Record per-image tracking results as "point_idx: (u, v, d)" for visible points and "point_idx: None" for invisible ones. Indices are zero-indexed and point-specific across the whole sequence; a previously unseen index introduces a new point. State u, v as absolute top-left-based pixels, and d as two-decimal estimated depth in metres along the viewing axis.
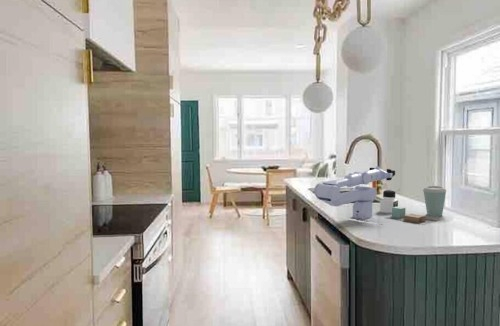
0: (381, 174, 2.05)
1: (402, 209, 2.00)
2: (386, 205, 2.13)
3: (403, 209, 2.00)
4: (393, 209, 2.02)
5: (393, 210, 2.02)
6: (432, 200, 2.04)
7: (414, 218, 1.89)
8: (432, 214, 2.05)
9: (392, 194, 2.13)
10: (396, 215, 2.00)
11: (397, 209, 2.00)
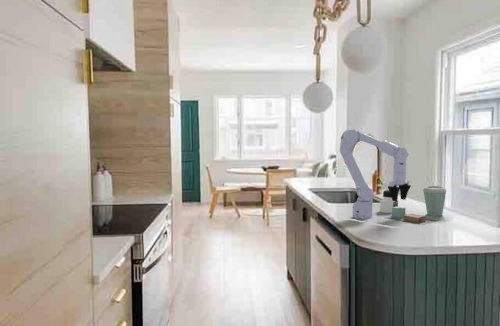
0: (396, 180, 1.99)
1: (402, 209, 2.00)
2: (386, 205, 2.13)
3: (403, 209, 2.00)
4: (393, 209, 2.02)
5: (393, 210, 2.02)
6: (432, 200, 2.04)
7: (414, 218, 1.89)
8: (432, 214, 2.05)
9: None
10: (396, 215, 2.00)
11: (397, 209, 2.00)
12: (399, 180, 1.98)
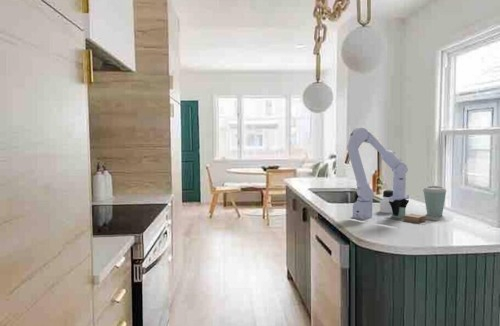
0: (396, 195, 1.99)
1: (402, 209, 2.00)
2: (386, 205, 2.13)
3: (403, 209, 2.00)
4: None
5: None
6: (432, 200, 2.04)
7: (414, 218, 1.89)
8: (432, 214, 2.05)
9: (392, 194, 2.13)
10: None
11: None
12: (399, 195, 1.99)
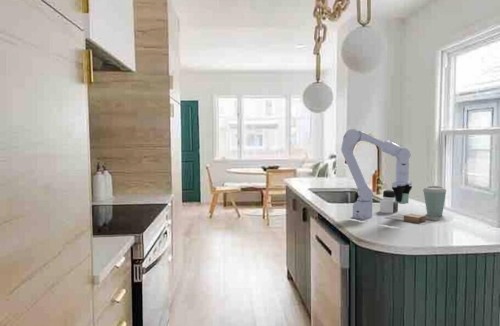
0: (399, 181, 1.97)
1: (406, 195, 1.98)
2: (386, 205, 2.13)
3: (406, 195, 1.98)
4: None
5: None
6: (432, 200, 2.04)
7: (414, 218, 1.89)
8: (432, 214, 2.05)
9: (392, 194, 2.13)
10: None
11: None
12: (402, 181, 1.97)
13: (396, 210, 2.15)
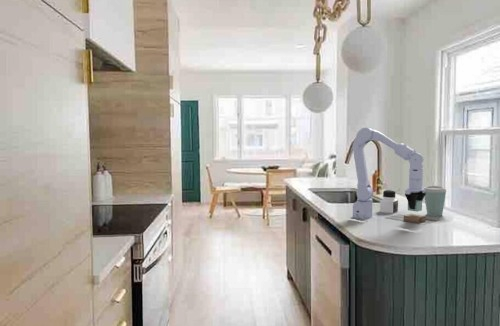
0: (413, 187, 1.89)
1: (419, 202, 1.90)
2: (386, 205, 2.13)
3: (420, 202, 1.91)
4: None
5: None
6: (432, 200, 2.04)
7: (414, 218, 1.89)
8: (432, 214, 2.05)
9: (392, 194, 2.13)
10: None
11: None
12: (415, 187, 1.89)
13: (396, 210, 2.15)
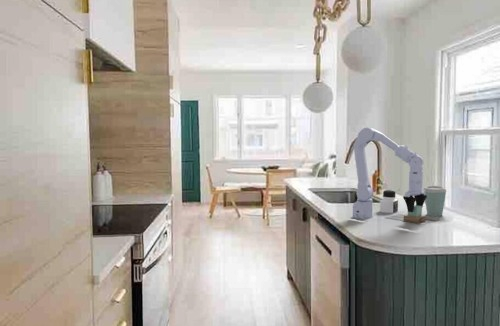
0: (412, 190, 1.89)
1: (419, 207, 1.90)
2: (386, 205, 2.13)
3: (419, 207, 1.91)
4: None
5: None
6: (432, 200, 2.04)
7: (414, 218, 1.89)
8: (432, 214, 2.05)
9: (392, 194, 2.13)
10: (412, 214, 1.91)
11: None
12: (415, 190, 1.89)
13: (396, 210, 2.15)
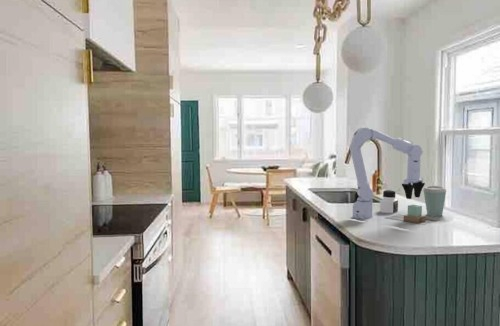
0: (411, 177, 1.97)
1: (419, 207, 1.90)
2: (386, 205, 2.13)
3: (419, 207, 1.91)
4: (409, 207, 1.92)
5: (409, 208, 1.92)
6: (432, 200, 2.04)
7: (414, 218, 1.89)
8: (432, 214, 2.05)
9: (392, 194, 2.13)
10: (412, 214, 1.91)
11: (413, 207, 1.90)
12: (413, 178, 1.97)
13: (396, 210, 2.15)
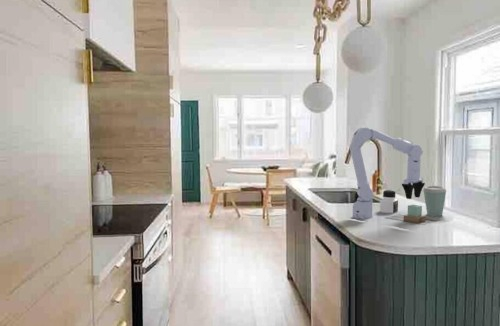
0: (411, 177, 1.97)
1: (419, 207, 1.90)
2: (386, 205, 2.13)
3: (419, 207, 1.91)
4: (409, 207, 1.92)
5: (409, 208, 1.92)
6: (432, 200, 2.04)
7: (414, 218, 1.89)
8: (432, 214, 2.05)
9: (392, 194, 2.13)
10: (412, 214, 1.91)
11: (413, 207, 1.90)
12: (413, 178, 1.97)
13: (396, 210, 2.15)
